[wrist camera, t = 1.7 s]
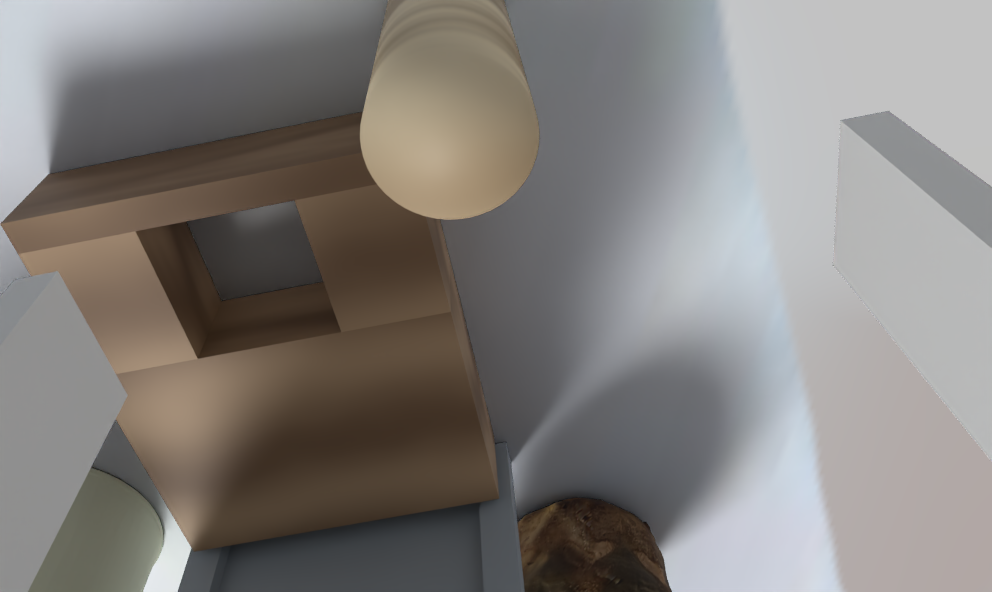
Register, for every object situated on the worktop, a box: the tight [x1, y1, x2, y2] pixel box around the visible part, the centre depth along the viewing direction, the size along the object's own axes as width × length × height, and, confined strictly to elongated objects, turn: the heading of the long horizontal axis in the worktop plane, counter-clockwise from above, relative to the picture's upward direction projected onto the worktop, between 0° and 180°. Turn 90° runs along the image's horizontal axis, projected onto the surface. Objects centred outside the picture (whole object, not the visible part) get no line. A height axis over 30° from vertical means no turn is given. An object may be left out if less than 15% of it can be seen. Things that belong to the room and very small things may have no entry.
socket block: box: [1, 112, 499, 552], centre depth 33 cm, size 17×14×4 cm
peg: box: [360, 0, 539, 220], centre depth 23 cm, size 4×4×12 cm
